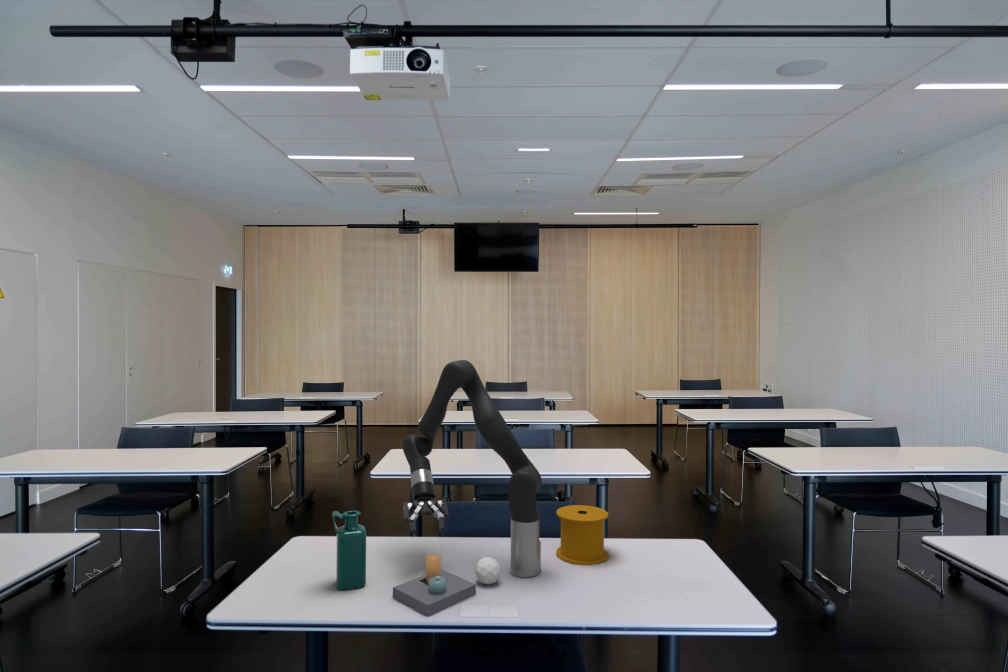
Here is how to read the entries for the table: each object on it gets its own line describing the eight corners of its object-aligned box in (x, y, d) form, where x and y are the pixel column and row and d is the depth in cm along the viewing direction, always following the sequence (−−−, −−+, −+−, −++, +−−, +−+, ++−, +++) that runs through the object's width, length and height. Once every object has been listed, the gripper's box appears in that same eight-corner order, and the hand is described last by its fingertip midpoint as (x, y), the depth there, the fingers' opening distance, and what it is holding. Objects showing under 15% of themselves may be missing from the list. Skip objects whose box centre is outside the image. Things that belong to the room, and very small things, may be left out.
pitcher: (364, 576, 174) (364, 506, 175) (366, 588, 166) (366, 514, 166) (331, 580, 171) (332, 509, 171) (332, 592, 163) (332, 517, 163)
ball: (491, 594, 169) (494, 580, 164) (469, 581, 171) (471, 567, 166) (503, 574, 174) (506, 559, 170) (481, 562, 177) (483, 547, 172)
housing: (440, 578, 173) (440, 556, 173) (475, 594, 162) (476, 570, 162) (392, 597, 160) (392, 573, 160) (428, 616, 149) (428, 590, 149)
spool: (612, 565, 184) (612, 520, 184) (558, 564, 185) (558, 519, 185) (603, 545, 202) (603, 504, 202) (554, 545, 203) (554, 504, 203)
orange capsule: (434, 585, 168) (434, 552, 168) (443, 590, 165) (443, 556, 165) (422, 590, 165) (422, 556, 165) (432, 595, 162) (432, 560, 162)
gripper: (402, 481, 181) (406, 528, 169) (445, 478, 185) (452, 523, 174) (400, 493, 186) (404, 539, 174) (442, 490, 190) (448, 535, 179)
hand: (428, 531), depth 174 cm, fingers open, 8 cm apart
